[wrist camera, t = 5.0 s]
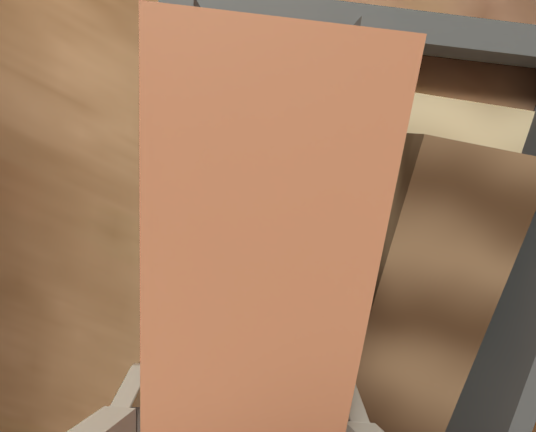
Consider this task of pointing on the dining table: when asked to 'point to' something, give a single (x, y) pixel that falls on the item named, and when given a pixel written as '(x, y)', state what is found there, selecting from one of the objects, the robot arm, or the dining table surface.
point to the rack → (532, 249)
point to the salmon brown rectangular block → (262, 212)
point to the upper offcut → (441, 276)
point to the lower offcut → (470, 122)
